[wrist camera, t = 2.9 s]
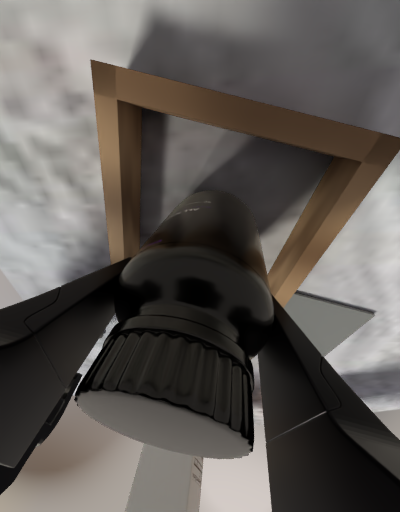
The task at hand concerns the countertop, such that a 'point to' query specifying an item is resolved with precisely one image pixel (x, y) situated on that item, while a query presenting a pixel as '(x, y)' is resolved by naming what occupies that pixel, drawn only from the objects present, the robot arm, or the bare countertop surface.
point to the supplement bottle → (187, 334)
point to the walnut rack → (244, 121)
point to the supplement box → (166, 482)
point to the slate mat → (325, 320)
